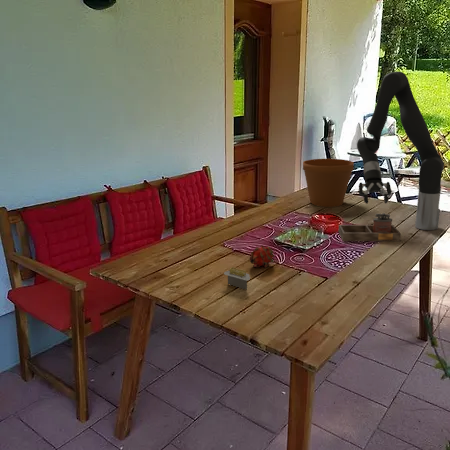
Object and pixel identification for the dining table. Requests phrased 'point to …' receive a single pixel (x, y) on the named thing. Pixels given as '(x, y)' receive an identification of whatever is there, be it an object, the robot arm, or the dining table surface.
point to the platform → (237, 278)
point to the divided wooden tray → (366, 233)
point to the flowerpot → (327, 180)
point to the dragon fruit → (261, 256)
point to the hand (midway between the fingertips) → (376, 202)
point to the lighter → (382, 223)
